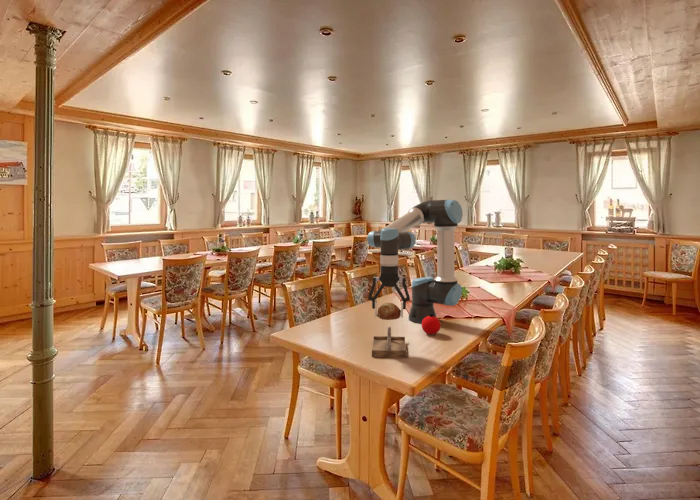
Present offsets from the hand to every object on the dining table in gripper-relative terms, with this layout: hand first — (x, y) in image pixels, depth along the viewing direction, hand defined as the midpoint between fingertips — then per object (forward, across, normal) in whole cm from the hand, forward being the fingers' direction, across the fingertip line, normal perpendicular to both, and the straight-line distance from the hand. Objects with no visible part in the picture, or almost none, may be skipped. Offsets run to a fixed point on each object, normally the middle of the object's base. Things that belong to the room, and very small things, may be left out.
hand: (388, 316), depth 164 cm
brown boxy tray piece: (+15, 0, 0) cm, 15 cm away
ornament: (+14, -20, -22) cm, 33 cm away
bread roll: (+1, 0, 0) cm, 1 cm away
